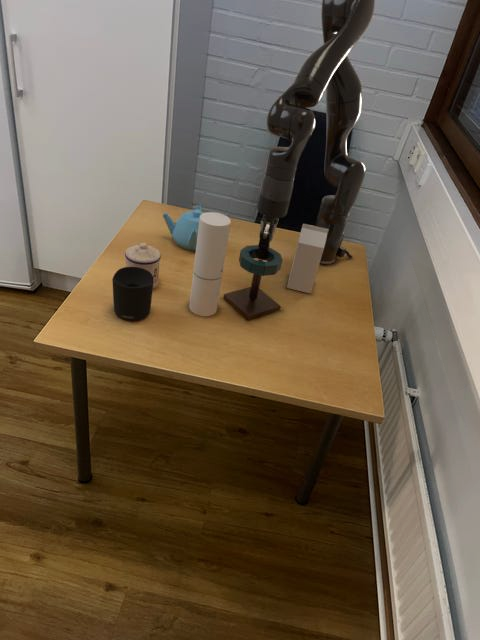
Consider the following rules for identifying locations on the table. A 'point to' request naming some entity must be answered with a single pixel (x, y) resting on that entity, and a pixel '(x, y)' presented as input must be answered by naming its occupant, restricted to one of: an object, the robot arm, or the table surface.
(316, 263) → the milk carton
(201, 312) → the cylindrical container
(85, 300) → the table surface
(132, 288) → the pen holder
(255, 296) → the stand
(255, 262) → the ring
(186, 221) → the teapot
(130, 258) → the teacup with lid
